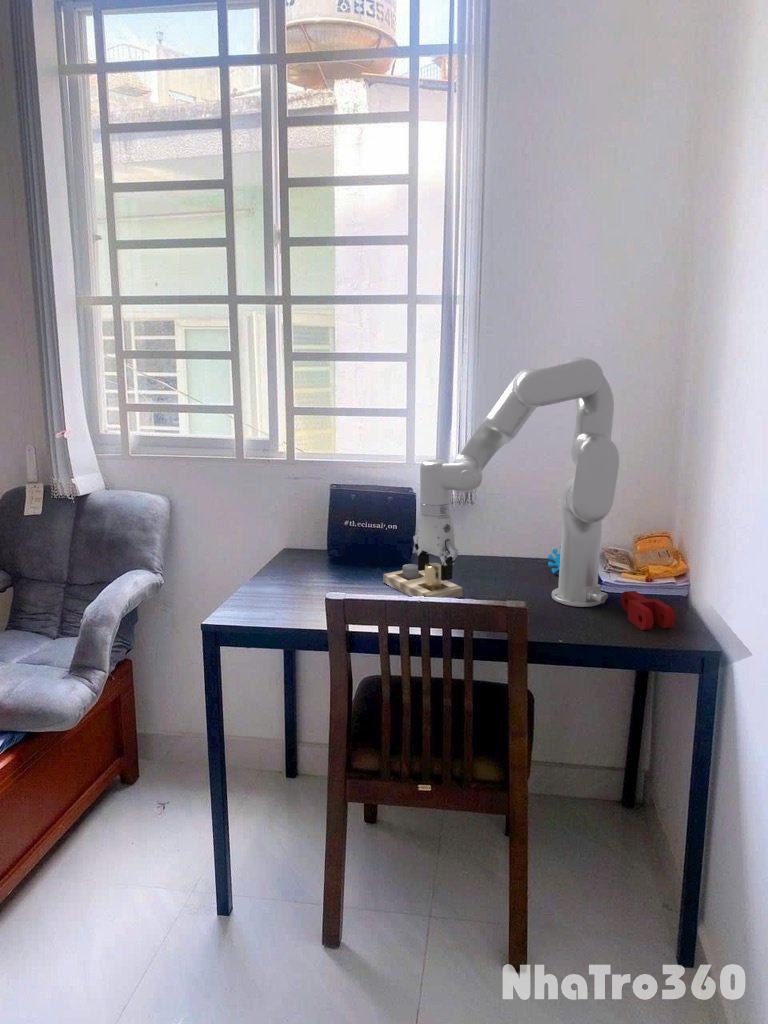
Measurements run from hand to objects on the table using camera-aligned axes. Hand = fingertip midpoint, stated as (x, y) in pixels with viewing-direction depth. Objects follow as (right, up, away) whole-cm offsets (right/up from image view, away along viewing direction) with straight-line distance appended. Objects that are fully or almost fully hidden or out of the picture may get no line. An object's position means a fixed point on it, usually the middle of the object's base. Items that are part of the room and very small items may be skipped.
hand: (434, 574), depth 187 cm
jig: (-3, -4, +5) cm, 8 cm away
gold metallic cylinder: (0, -5, +1) cm, 6 cm away
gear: (+38, -2, +19) cm, 43 cm away
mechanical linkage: (+48, -10, -14) cm, 51 cm away
